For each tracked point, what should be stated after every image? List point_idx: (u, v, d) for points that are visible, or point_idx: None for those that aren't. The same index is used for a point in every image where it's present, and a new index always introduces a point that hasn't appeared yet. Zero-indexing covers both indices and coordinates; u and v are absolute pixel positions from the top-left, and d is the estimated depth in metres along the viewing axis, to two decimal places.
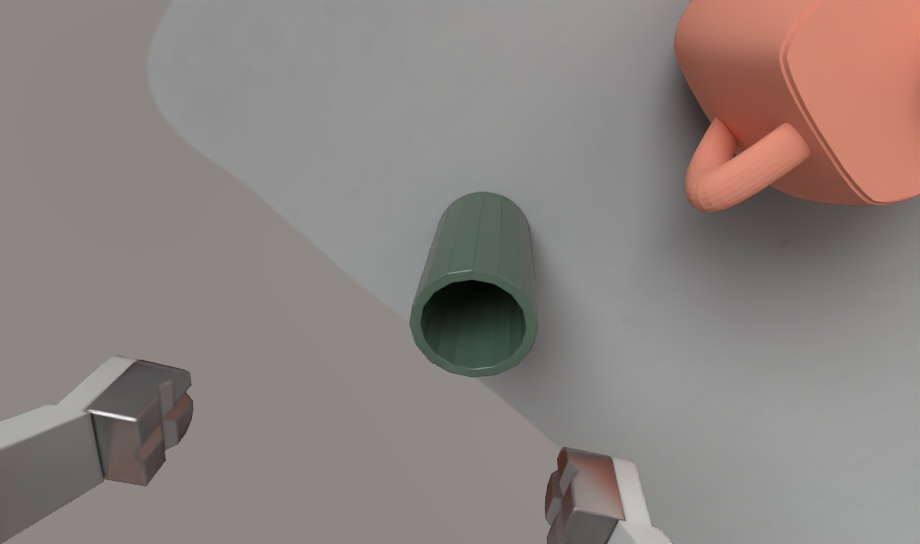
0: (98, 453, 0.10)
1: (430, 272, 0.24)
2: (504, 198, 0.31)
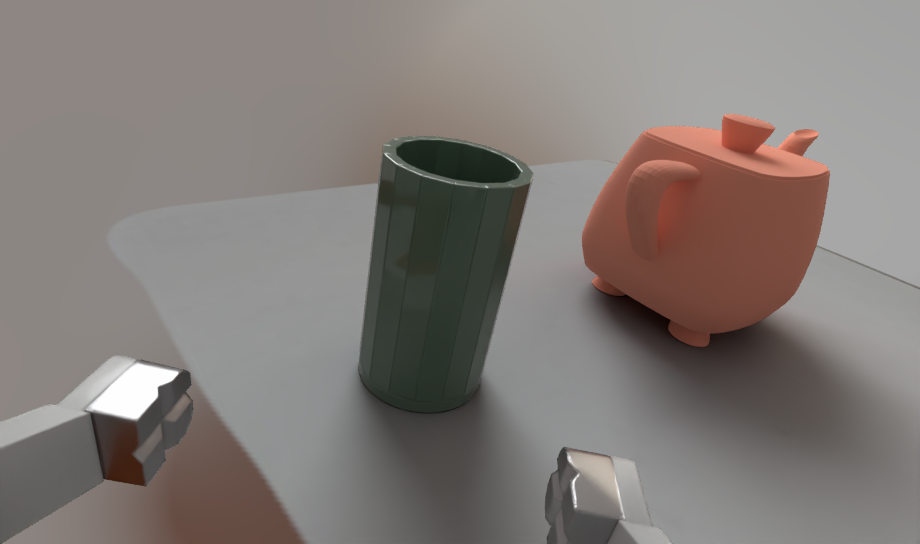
0: (98, 453, 0.10)
1: None
2: None
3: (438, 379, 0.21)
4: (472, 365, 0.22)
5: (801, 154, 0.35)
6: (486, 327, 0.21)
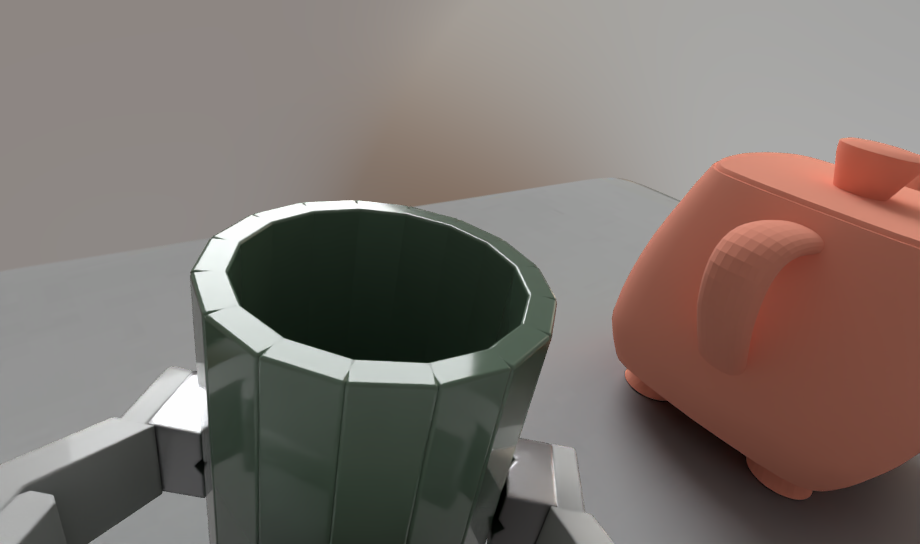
0: (159, 465, 0.10)
1: None
2: None
3: None
4: None
5: None
6: None
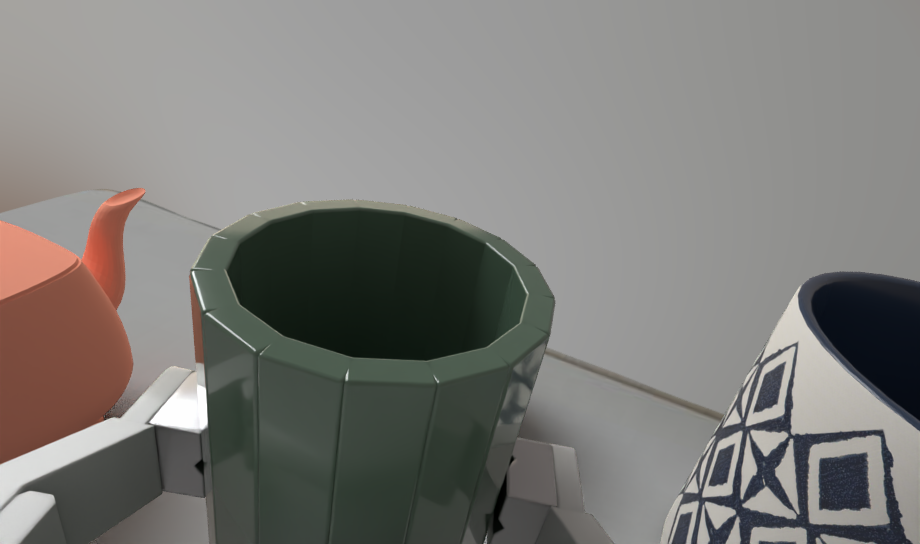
0: (159, 465, 0.10)
1: None
2: None
3: None
4: None
5: (116, 225, 0.30)
6: None
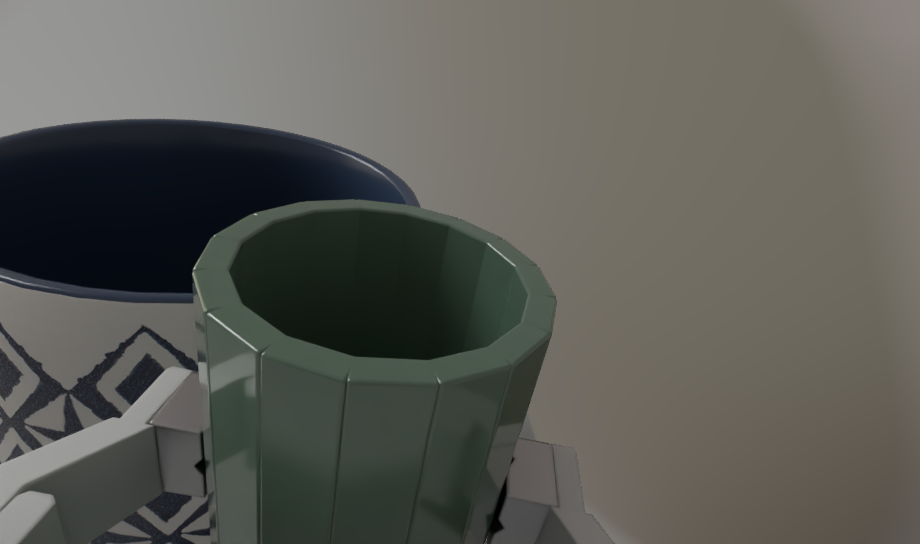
0: (159, 465, 0.10)
1: None
2: None
3: None
4: None
5: None
6: None
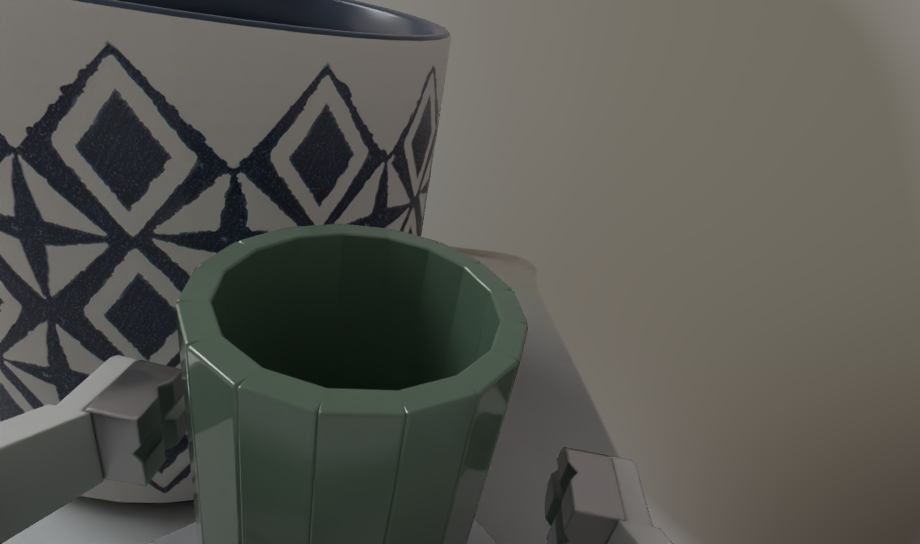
0: (98, 453, 0.10)
1: None
2: None
3: None
4: None
5: None
6: None
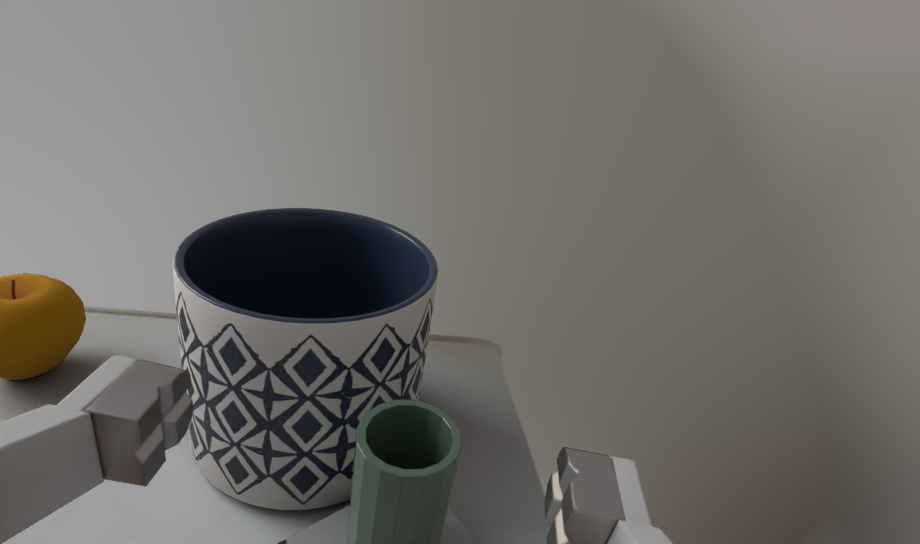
0: (98, 453, 0.10)
1: None
2: None
3: None
4: None
5: None
6: (434, 541, 0.29)
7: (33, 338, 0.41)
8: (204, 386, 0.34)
